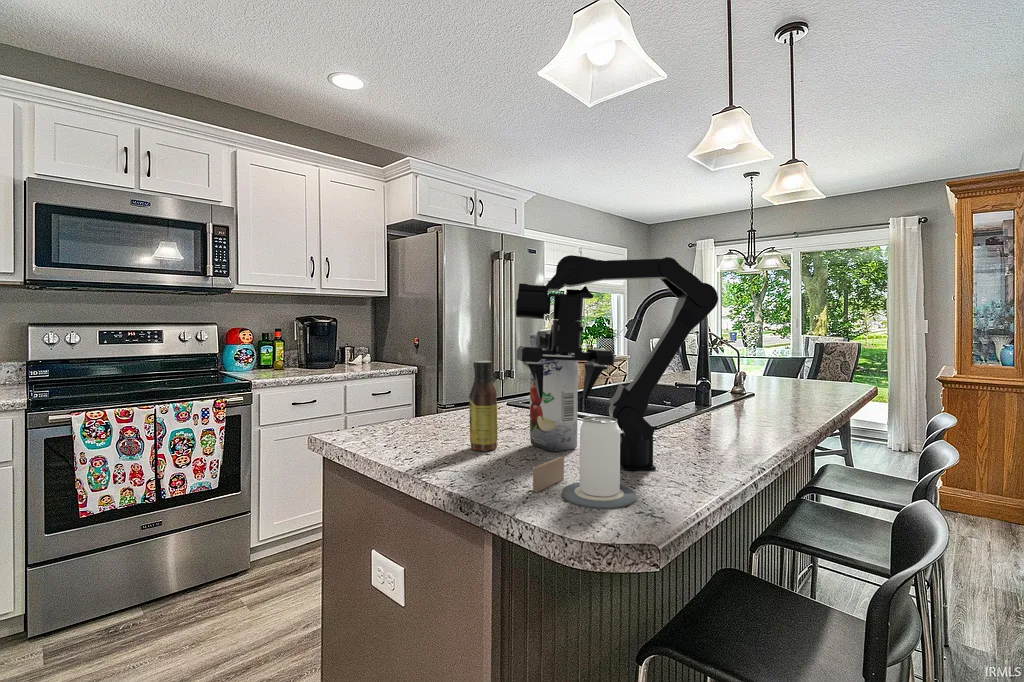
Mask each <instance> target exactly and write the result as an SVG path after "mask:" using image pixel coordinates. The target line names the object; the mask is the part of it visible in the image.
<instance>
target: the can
mask: <svg viewBox="0 0 1024 682" xmlns="http://www.w3.org/2000/svg"><path fill="white" fill-rule="evenodd" d="M620 433H621V429H620V428H619V426H618V424H617V419H616V418H612V417H610V416H606V415H605V416H603V415H592V416H584V417H583V418H582V424H581V425H580V429H579V482H580V490H581V491H582V492H583V493H584V494H586V495H589V496H593V497H612V496H615V495H616V494H617V493H618V492H619V490H620V485H621V467H620Z"/></svg>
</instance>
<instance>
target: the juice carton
mask: <svg viewBox="0 0 1024 682" xmlns="http://www.w3.org/2000/svg"><path fill="white" fill-rule="evenodd" d="M539 331H546V332H547V334H550V332H551V328H546V329H545V328H544V329H540V330H539ZM536 338H537V334H532V335H531V334H530V335H529V346H536ZM536 347H537V346H536ZM542 350H545V348H542ZM568 354H569V355H575V353H572V352H569V353H568ZM556 355H558V354H556ZM573 357H574V356H573ZM578 362H579V361H575V360H551V359H541V362H540V363H541V364H543V365H544V366H543V394H542V399H540V398H539V397H538V393H537V389H536V385H535V382H534V378H533V375H532V373H531V371H530V370H529V436H530V438H529V439H530V444H531V445H532V446H535V447H537V448H540V449H543V450H546V451H548V452H550V453H554V452H559V451H567V450H573V449H574V450H575V449H576V448H577V447H578V403H579V402H578V392H579V391H578V390H579V389H578V387H579V386H578V385H579V383H578V382H579V381H578V380H579V379H578V378H579V377H578V376H579V375H578V371H579V370H578V369H579V367H578V364H579V363H578Z"/></svg>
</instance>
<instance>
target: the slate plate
mask: <svg viewBox="0 0 1024 682" xmlns="http://www.w3.org/2000/svg"><path fill="white" fill-rule="evenodd" d="M561 491H562V492H561V495H562V498H563V499H564V500H566V501H567V502H569V503H571V504H573V505H577V506H580V507H583V508H584V507H586V508H590V509H591V508H592V509H618V508H625V507H627V506H631V505H633V504H634V503H635V502H636V501H637V493H636V491H635V490H634V489H632V488H631V487H628V486H625V485H622V484H620V490H619V492H618V493H617V494H616V495H615V496H612V497H593V496H589V495H586V494H584V493H583V492H582V491H581V490H580V481H579V482H575V483H571V484H568V485H566V486H564V487H563V489H562V490H561Z"/></svg>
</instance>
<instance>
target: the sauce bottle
mask: <svg viewBox="0 0 1024 682" xmlns="http://www.w3.org/2000/svg"><path fill="white" fill-rule="evenodd" d="M473 371H474V378H473V380H474V381H473V384H472V386H471V390H470V393H469V395H468V396H469V397H468V400H469V401H468V402H469V403H468V404H469V405H468V406H469V407H468V408H469V409H468V411H469V442H470V448H471V449H472V450H475V451H481V452H490V451H492V450H493V451H494V450H496V449H497V447H498V440H499V439H498V436H499V435H498V401H497V389H496V388H495V386H494V384H493V383H492V361H491V360H475V361H473Z"/></svg>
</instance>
